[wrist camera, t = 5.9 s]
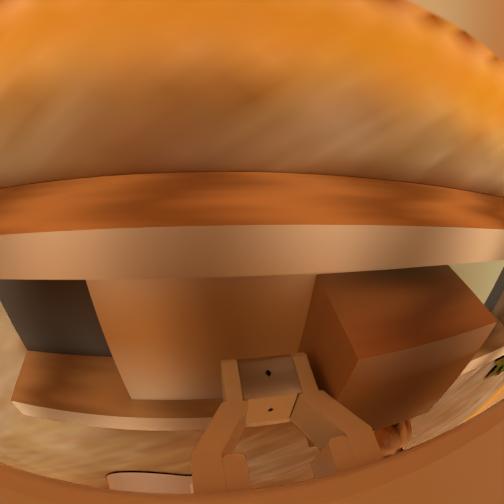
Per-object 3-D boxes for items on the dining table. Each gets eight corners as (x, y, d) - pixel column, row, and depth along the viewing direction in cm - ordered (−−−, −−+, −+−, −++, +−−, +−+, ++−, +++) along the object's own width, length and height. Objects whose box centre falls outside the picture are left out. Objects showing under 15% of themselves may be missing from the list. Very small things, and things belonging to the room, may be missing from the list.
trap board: (541, 206, 14) (577, 234, 11) (487, 319, 20) (511, 351, 17) (-32, 194, 9) (-85, 242, 5) (39, 361, 15) (23, 414, 11)
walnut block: (447, 264, 11) (497, 321, 8) (399, 358, 14) (427, 411, 11) (316, 274, 10) (358, 359, 7) (290, 379, 13) (309, 447, 10)
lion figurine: (391, 417, 27) (414, 470, 21) (355, 432, 28) (375, 488, 22) (399, 367, 21) (437, 443, 15) (349, 389, 21) (381, 471, 15)
